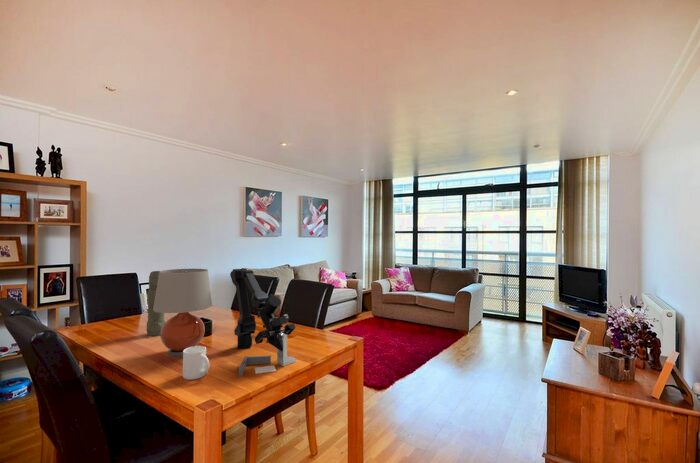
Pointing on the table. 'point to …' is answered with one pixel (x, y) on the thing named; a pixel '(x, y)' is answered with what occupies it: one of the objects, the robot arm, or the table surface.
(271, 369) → the plate
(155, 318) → the thermos
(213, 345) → the table surface
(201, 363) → the mug
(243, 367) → the corner wall
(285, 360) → the bracket
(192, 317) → the lamp
